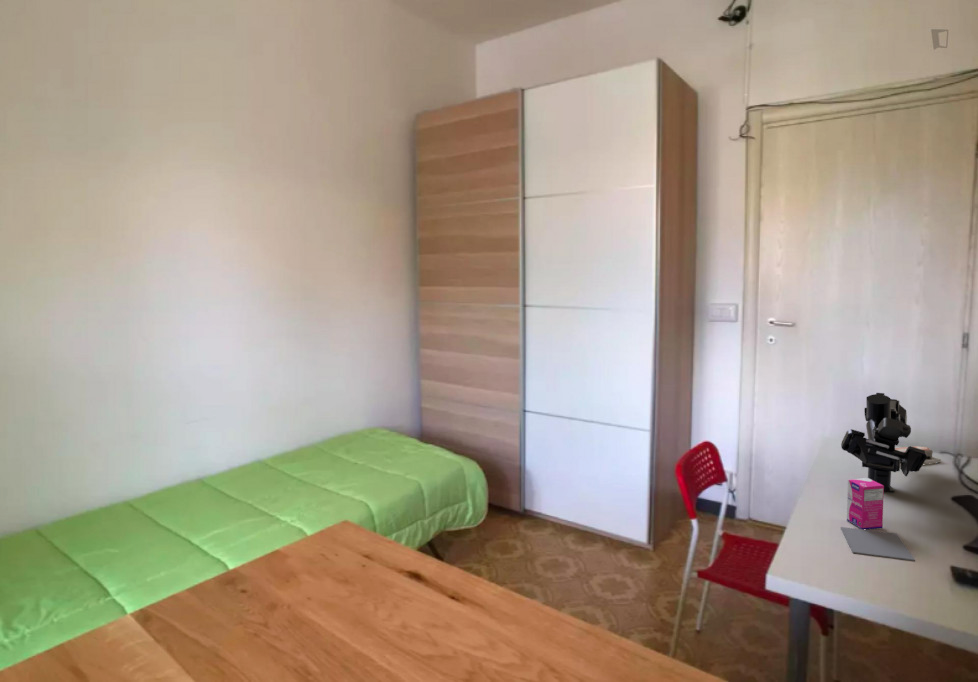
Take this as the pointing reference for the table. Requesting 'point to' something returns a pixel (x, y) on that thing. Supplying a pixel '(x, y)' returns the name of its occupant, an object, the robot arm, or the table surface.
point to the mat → (876, 543)
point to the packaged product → (928, 452)
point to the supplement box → (865, 503)
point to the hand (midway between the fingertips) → (886, 468)
